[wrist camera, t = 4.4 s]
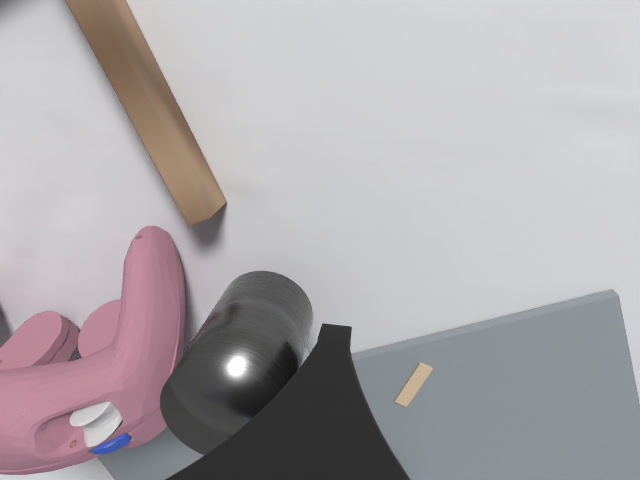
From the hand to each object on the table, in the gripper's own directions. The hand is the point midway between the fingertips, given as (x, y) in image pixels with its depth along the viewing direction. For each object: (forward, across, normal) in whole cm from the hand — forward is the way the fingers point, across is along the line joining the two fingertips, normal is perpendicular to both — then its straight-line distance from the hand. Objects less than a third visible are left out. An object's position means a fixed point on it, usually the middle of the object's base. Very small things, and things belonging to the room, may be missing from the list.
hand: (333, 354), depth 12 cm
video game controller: (+4, +10, +2) cm, 11 cm away
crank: (+3, +1, +5) cm, 6 cm away
